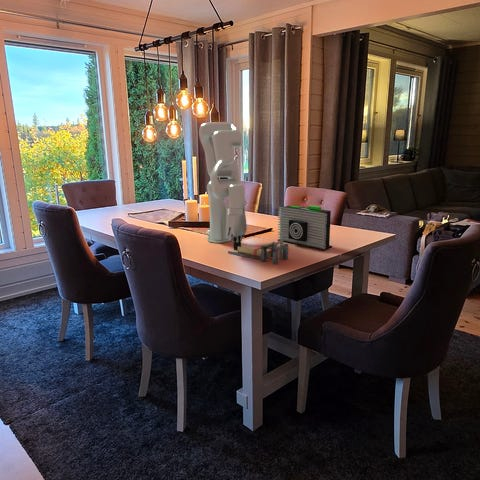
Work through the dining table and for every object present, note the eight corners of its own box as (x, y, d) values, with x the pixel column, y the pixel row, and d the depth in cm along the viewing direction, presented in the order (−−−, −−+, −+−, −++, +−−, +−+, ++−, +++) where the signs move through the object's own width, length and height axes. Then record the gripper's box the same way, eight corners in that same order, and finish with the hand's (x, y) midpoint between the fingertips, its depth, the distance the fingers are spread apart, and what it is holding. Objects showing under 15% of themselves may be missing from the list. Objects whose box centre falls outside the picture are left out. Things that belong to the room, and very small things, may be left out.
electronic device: (273, 242, 207) (274, 203, 202) (287, 238, 215) (287, 201, 210) (320, 252, 188) (321, 210, 183) (332, 247, 196) (334, 207, 191)
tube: (237, 254, 187) (237, 245, 186) (243, 252, 190) (243, 243, 189) (266, 260, 177) (266, 251, 176) (271, 258, 181) (271, 249, 180)
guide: (227, 253, 189) (227, 251, 188) (236, 250, 194) (236, 248, 193) (261, 260, 177) (261, 258, 177) (269, 256, 182) (269, 254, 182)
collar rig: (261, 261, 175) (261, 244, 173) (275, 255, 184) (275, 238, 182) (275, 264, 171) (275, 246, 169) (289, 258, 179) (289, 241, 178)
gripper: (240, 208, 192) (240, 245, 197) (219, 212, 181) (220, 252, 185) (253, 209, 188) (253, 247, 192) (232, 214, 176) (233, 254, 181)
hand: (237, 249), depth 189 cm, fingers closed
